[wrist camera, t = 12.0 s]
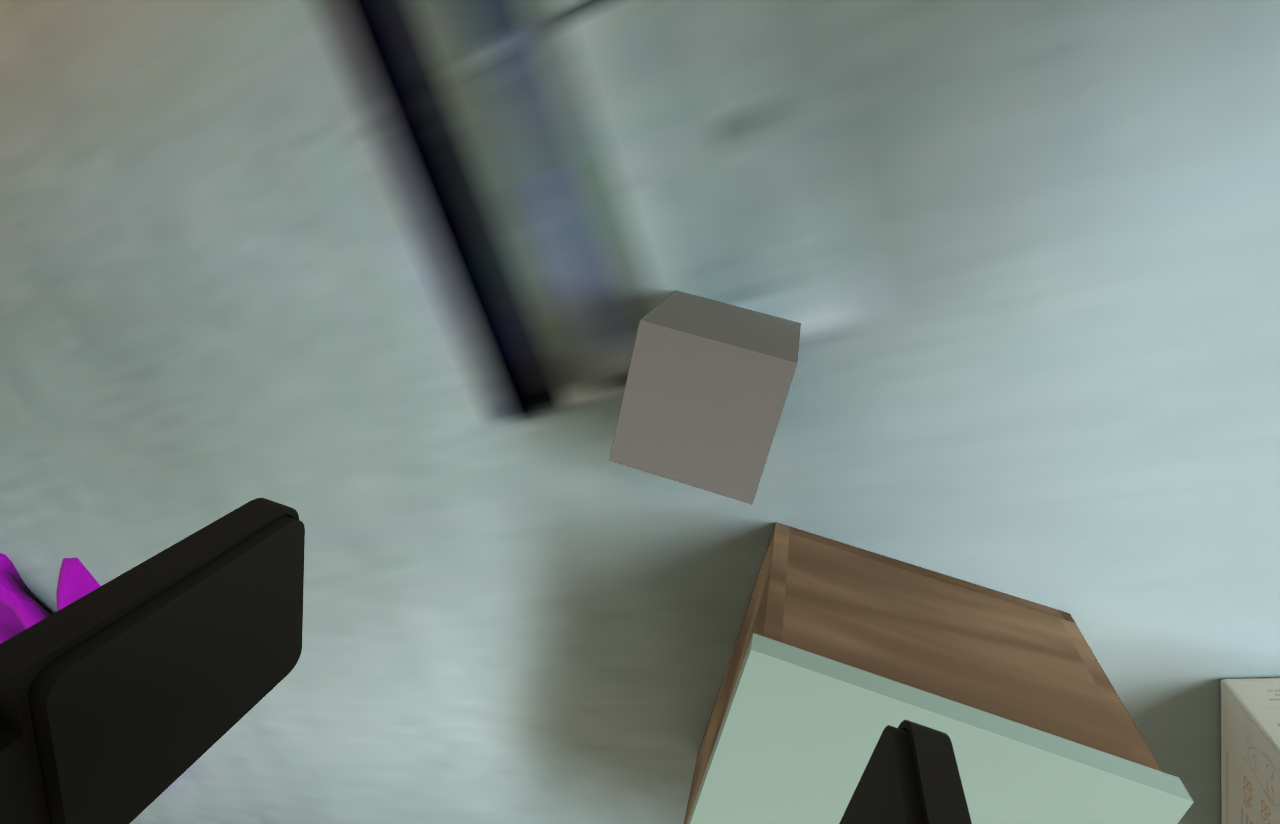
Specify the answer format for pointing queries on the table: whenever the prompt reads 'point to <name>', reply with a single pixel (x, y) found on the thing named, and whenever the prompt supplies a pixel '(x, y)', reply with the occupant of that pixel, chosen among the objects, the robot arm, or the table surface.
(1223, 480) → the table surface
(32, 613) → the cloth
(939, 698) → the lid
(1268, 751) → the small box
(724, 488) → the block
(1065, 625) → the brown wooden open box
